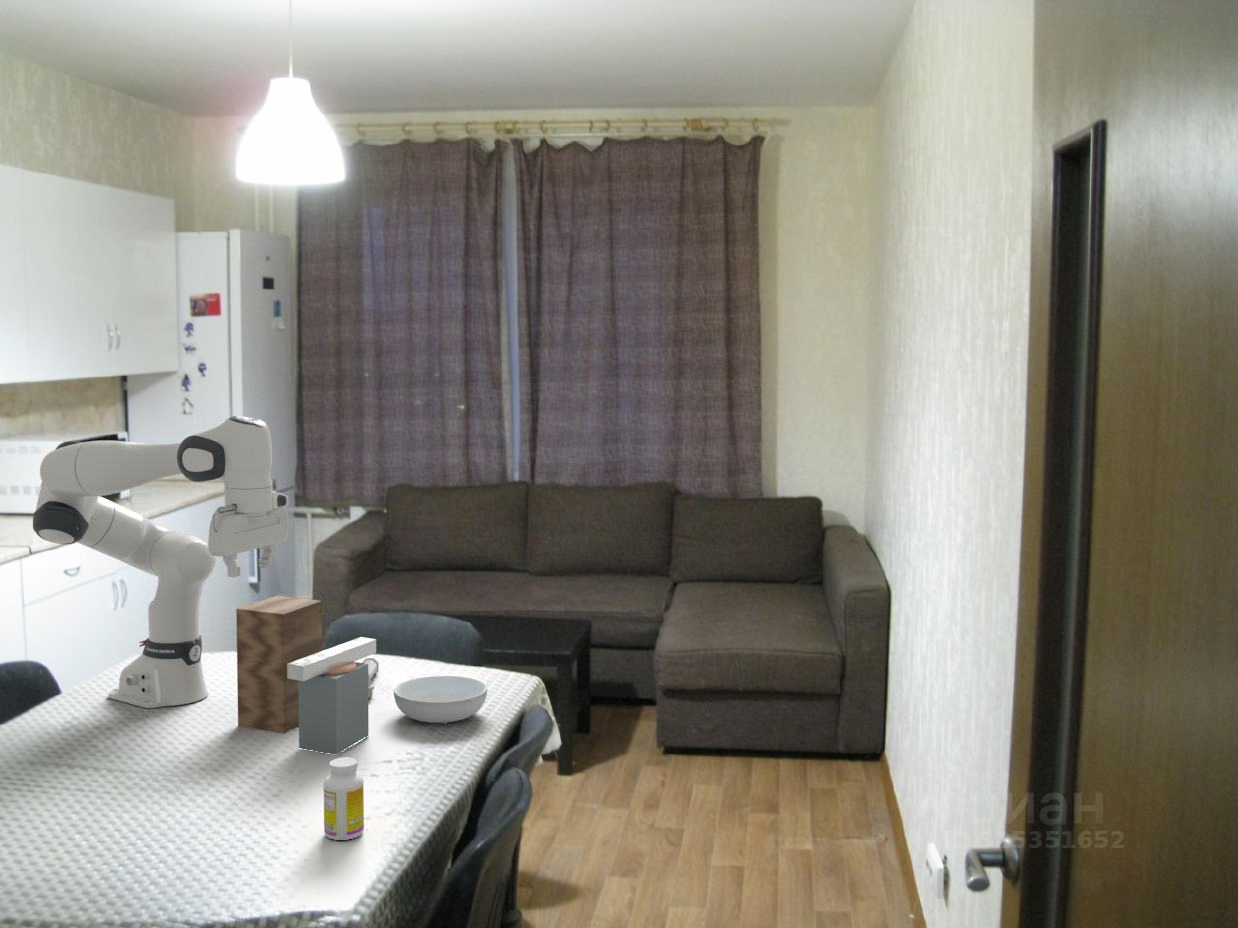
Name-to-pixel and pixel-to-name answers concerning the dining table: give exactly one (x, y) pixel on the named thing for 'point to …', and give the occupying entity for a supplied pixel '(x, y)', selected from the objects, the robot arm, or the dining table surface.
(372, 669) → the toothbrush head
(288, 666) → the white bar
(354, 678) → the low block
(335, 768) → the supplement bottle
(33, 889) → the dining table surface
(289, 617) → the stand
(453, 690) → the serving bowl
